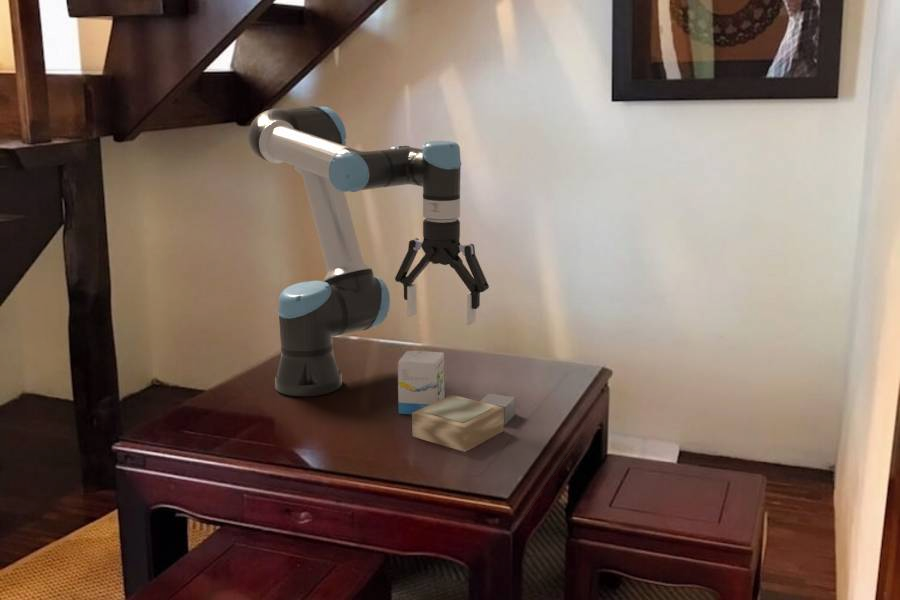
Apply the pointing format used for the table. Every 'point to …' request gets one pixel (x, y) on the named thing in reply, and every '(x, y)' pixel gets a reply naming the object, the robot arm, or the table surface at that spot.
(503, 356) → the table surface
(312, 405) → the table surface
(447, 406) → the pedestal
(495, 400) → the slate block
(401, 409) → the ink box
